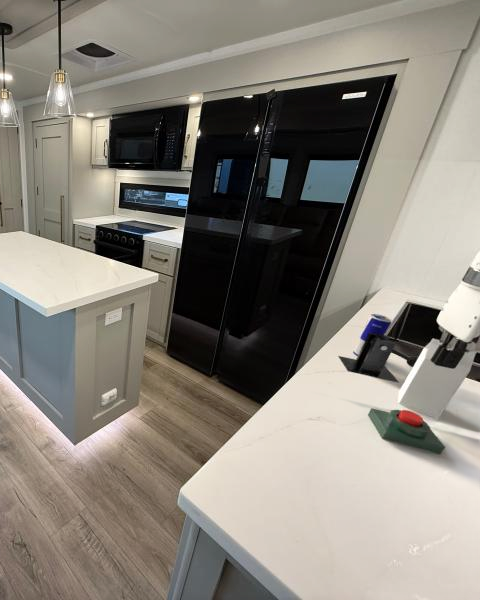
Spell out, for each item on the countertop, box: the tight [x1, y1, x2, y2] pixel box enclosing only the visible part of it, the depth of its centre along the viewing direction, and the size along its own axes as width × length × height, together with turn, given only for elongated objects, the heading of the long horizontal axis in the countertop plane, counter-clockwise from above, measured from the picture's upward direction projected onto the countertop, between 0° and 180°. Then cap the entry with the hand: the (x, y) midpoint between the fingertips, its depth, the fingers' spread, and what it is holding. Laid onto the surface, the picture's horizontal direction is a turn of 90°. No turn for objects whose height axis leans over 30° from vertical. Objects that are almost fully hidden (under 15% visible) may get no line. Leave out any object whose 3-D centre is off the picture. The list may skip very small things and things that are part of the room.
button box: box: [367, 407, 446, 455], centre depth 70 cm, size 10×8×4 cm
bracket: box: [337, 333, 400, 384], centre depth 91 cm, size 12×9×12 cm
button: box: [398, 409, 424, 428], centre depth 69 cm, size 4×4×2 cm
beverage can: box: [352, 313, 393, 357], centre depth 97 cm, size 5×5×15 cm
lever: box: [370, 336, 419, 368], centre depth 89 cm, size 13×3×3 cm, turn 67°
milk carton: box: [397, 338, 478, 419], centre depth 76 cm, size 7×7×19 cm
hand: (442, 364), depth 64 cm, fingers closed
